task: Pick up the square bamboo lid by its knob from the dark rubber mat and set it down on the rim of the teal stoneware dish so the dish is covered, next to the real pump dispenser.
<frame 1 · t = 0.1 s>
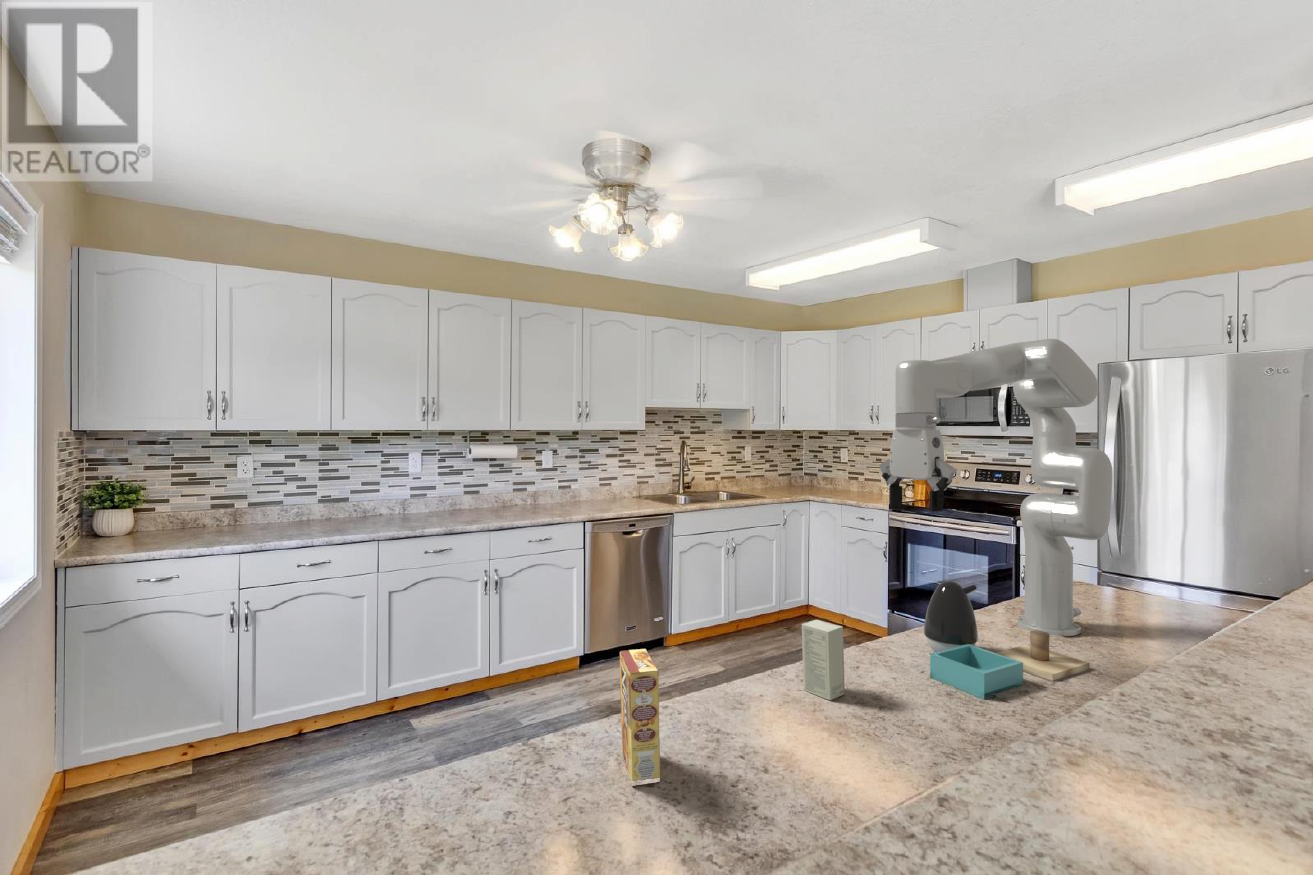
hand: (915, 508, 126), 31 cm above the countertop, fingers open, 9 cm apart
lid: (1039, 664, 124), resting on mat
pump dispenser: (951, 654, 131), on the countertop
dish: (975, 682, 116), on the countertop
skincare box: (823, 693, 112), on the countertop
candy box: (639, 770, 88), on the countertop
mat: (1039, 666, 124), on the countertop
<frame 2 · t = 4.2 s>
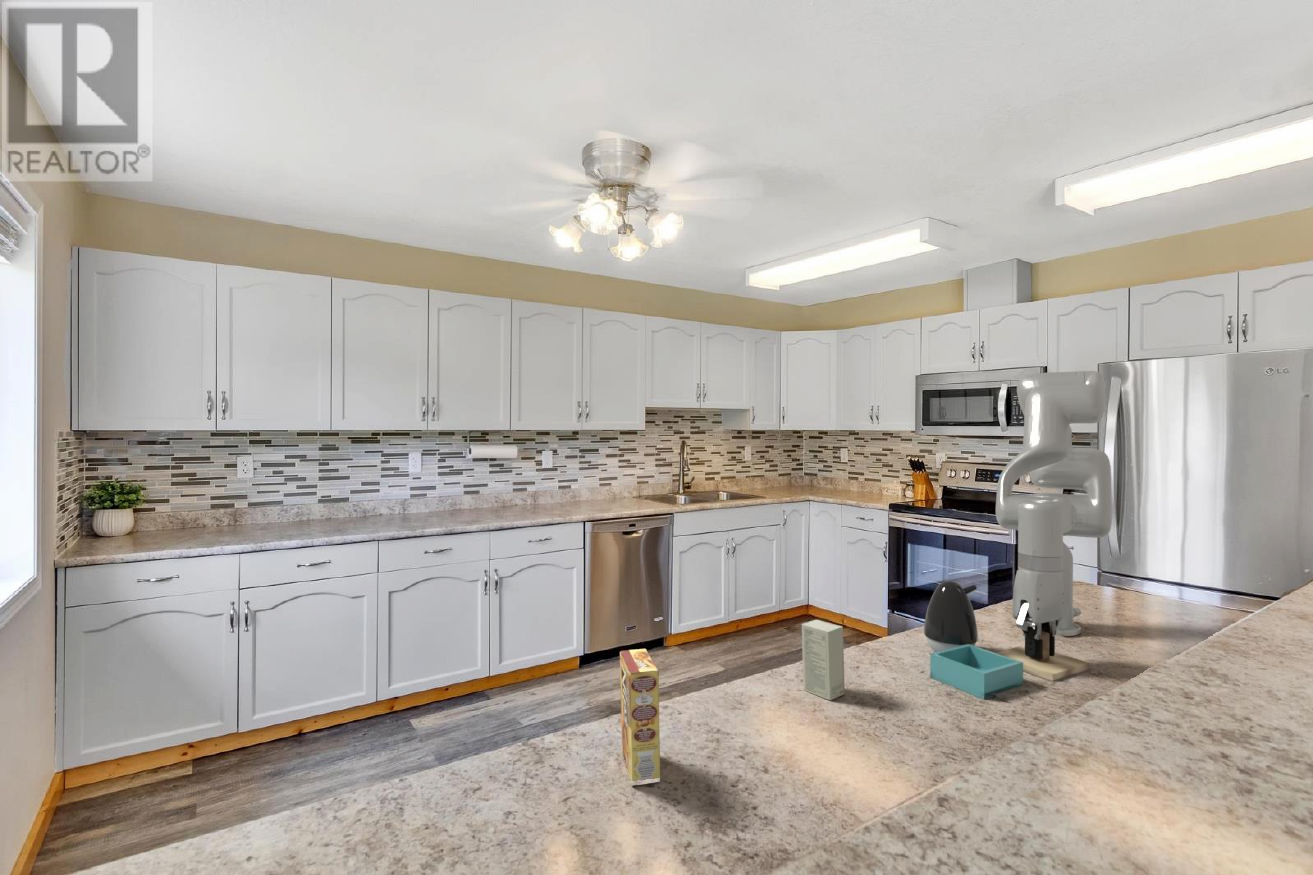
hand: (1039, 655, 124), 2 cm above the countertop, fingers closed on lid, 3 cm apart
lid: (1039, 664, 124), resting on mat, touching gripper
everything else where it was.
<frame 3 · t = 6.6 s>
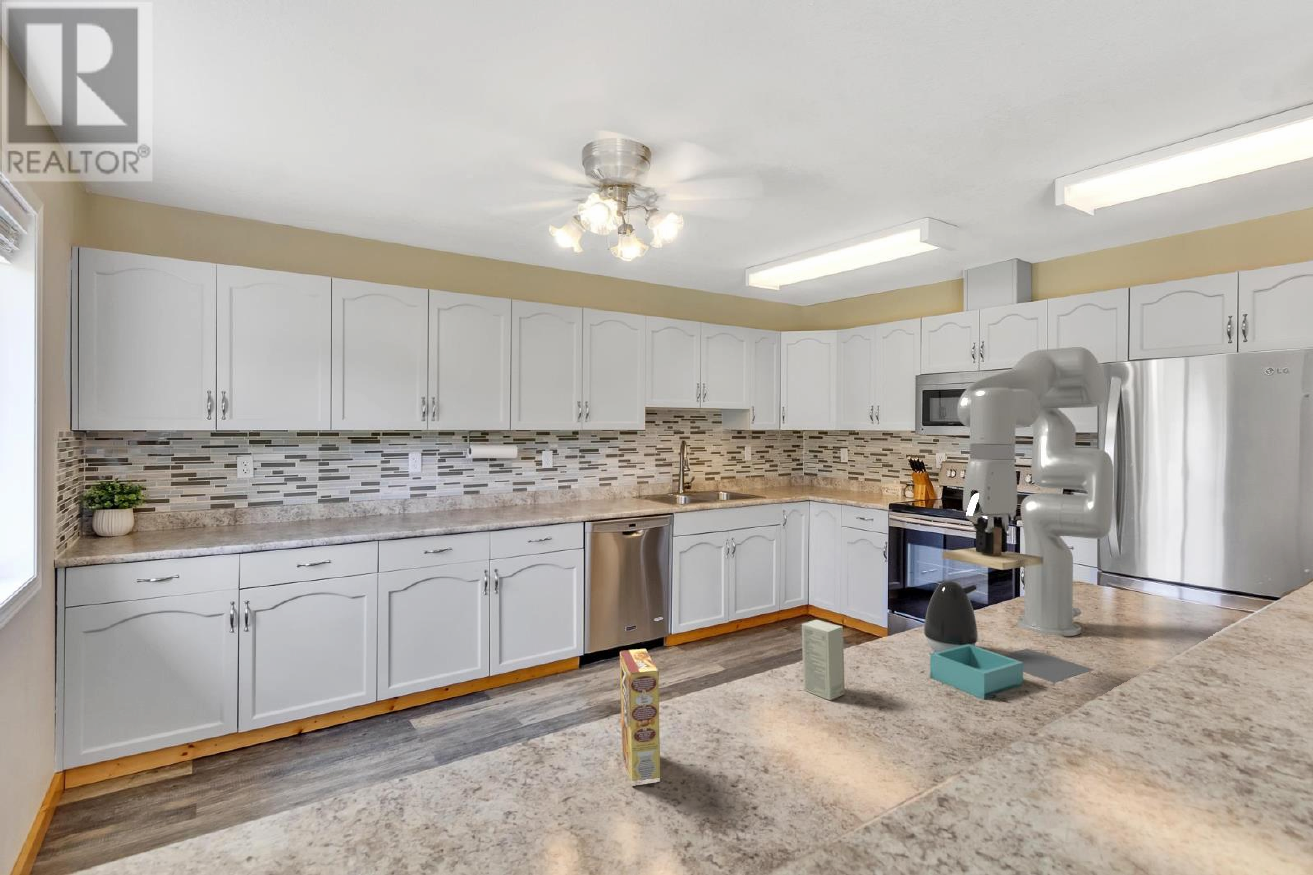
hand: (991, 551, 117), 24 cm above the countertop, fingers closed on lid, 3 cm apart
lid: (991, 560, 117), point 22 cm above the countertop, touching gripper
everything else where it was.
when the fingers open (8 cm above the countertop, at t = 9.3 s): lid drops 1 cm, resting on dish.
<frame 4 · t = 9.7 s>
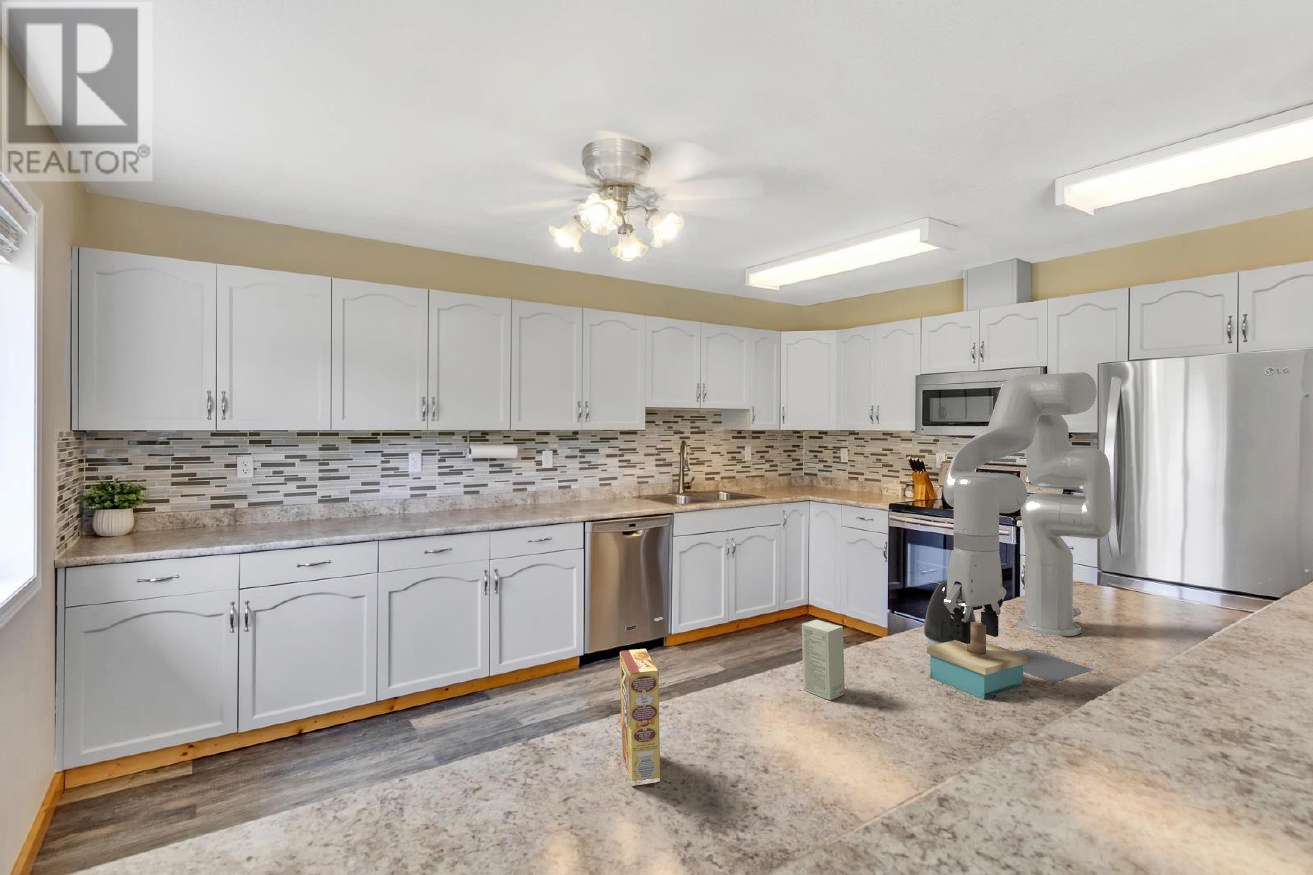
hand: (975, 637, 116), 8 cm above the countertop, fingers open, 7 cm apart
lid: (976, 658, 116), point 4 cm above the countertop, touching dish
everything else where it was.
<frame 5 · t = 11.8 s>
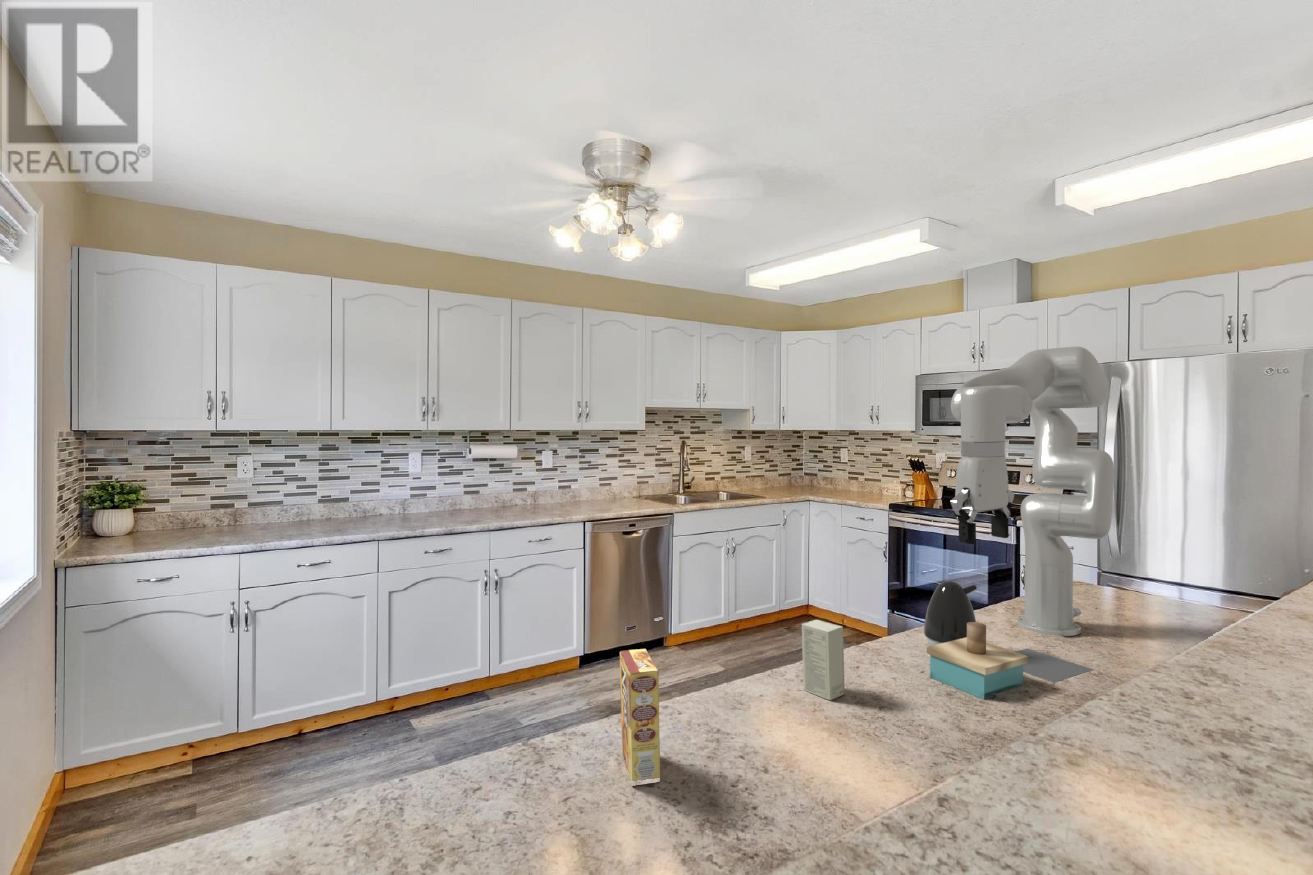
hand: (983, 540, 120), 26 cm above the countertop, fingers open, 9 cm apart
nothing on the countertop moved.
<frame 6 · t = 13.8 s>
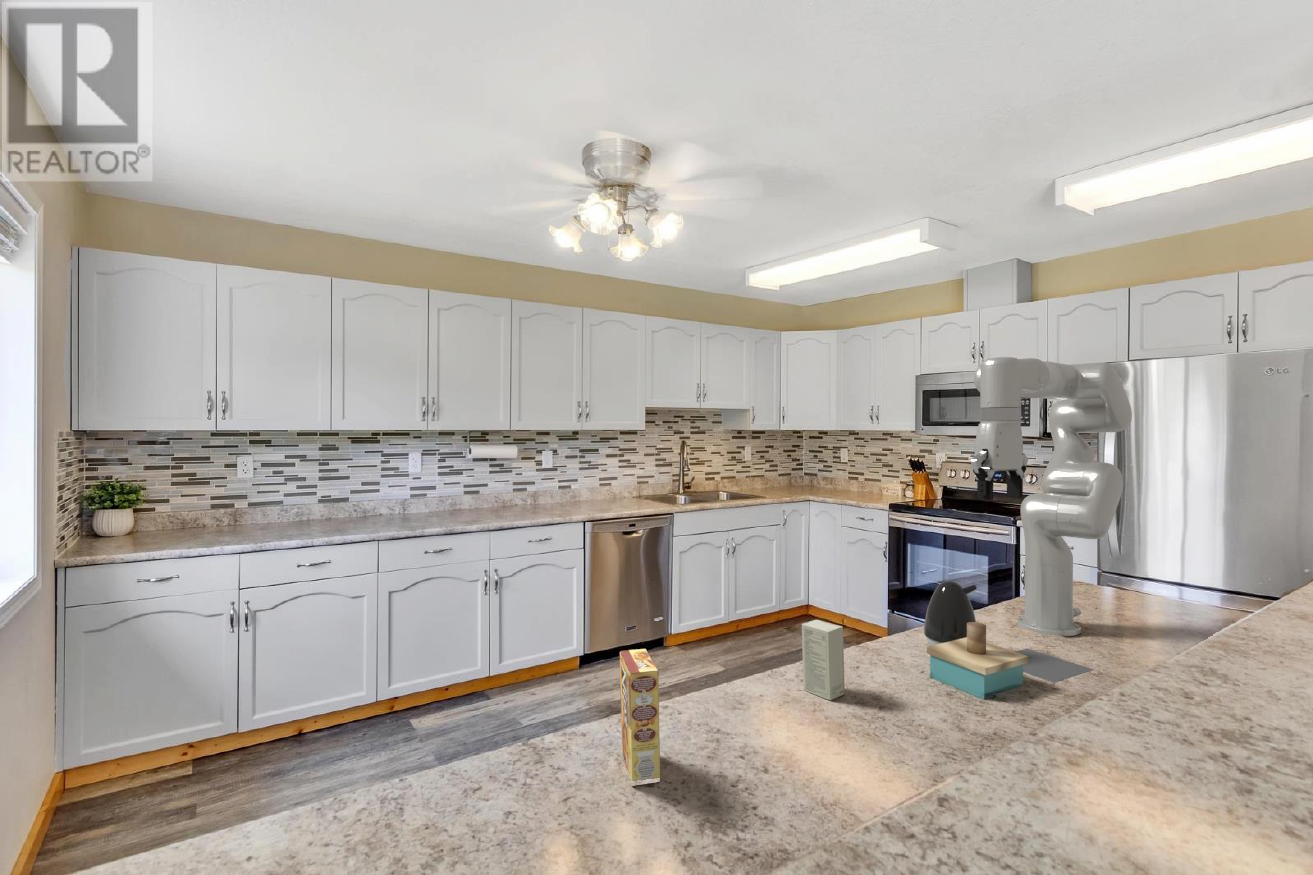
hand: (1000, 498, 132), 32 cm above the countertop, fingers open, 9 cm apart
nothing on the countertop moved.
at the end: lid 0.1 cm off-centre on the dish, point 4.5 cm above the dish's base; lid tilted 0°; the gripper is holding nothing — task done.
